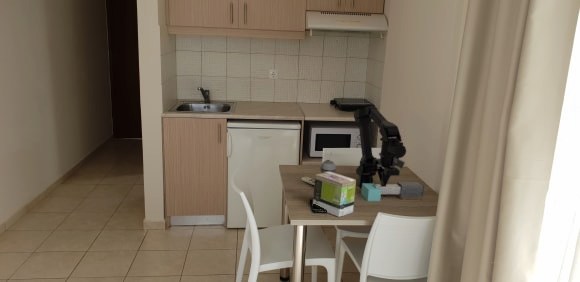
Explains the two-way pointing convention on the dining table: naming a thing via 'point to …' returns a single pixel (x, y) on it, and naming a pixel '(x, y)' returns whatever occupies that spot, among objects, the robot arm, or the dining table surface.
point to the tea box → (334, 193)
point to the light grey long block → (388, 188)
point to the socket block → (370, 192)
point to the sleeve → (411, 190)
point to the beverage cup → (328, 166)
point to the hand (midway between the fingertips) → (383, 184)
